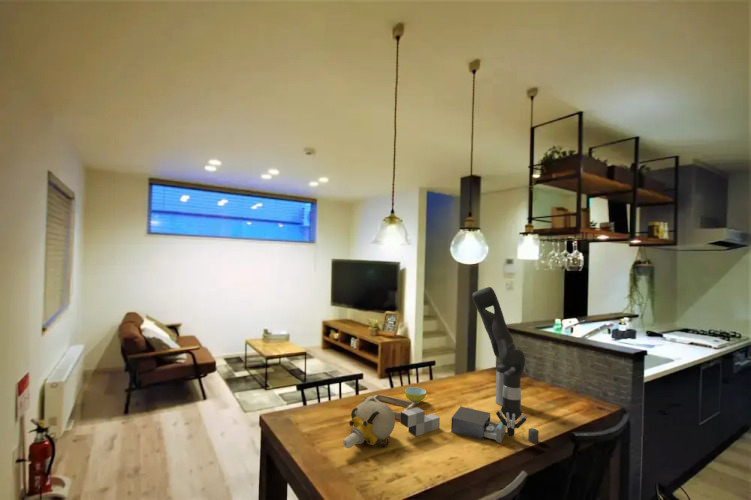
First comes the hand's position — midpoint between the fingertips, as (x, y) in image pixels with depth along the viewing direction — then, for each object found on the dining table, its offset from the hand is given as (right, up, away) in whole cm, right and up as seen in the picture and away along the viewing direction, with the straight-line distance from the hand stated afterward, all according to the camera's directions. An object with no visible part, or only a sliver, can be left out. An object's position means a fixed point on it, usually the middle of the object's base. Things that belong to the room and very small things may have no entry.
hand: (510, 436), depth 160 cm
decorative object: (-65, +1, -7) cm, 66 cm away
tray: (-9, -1, +5) cm, 11 cm away
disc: (-9, +1, +5) cm, 10 cm away
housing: (-15, -1, +8) cm, 17 cm away
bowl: (-38, -2, +38) cm, 54 cm away
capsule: (+9, -2, -1) cm, 10 cm away
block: (-39, -1, +5) cm, 39 cm away
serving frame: (-52, -1, +28) cm, 59 cm away
